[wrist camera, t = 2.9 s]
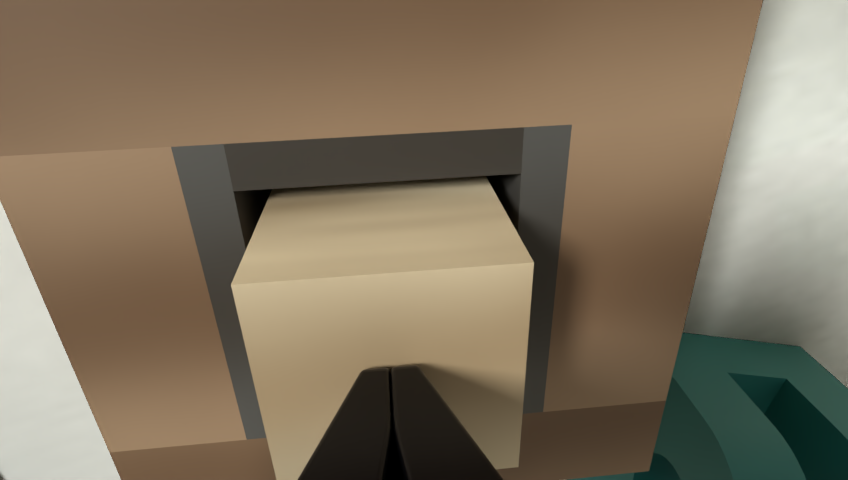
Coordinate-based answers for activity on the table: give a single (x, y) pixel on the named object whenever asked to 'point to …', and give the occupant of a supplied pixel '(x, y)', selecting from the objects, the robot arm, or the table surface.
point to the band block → (354, 164)
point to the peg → (385, 306)
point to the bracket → (748, 415)
